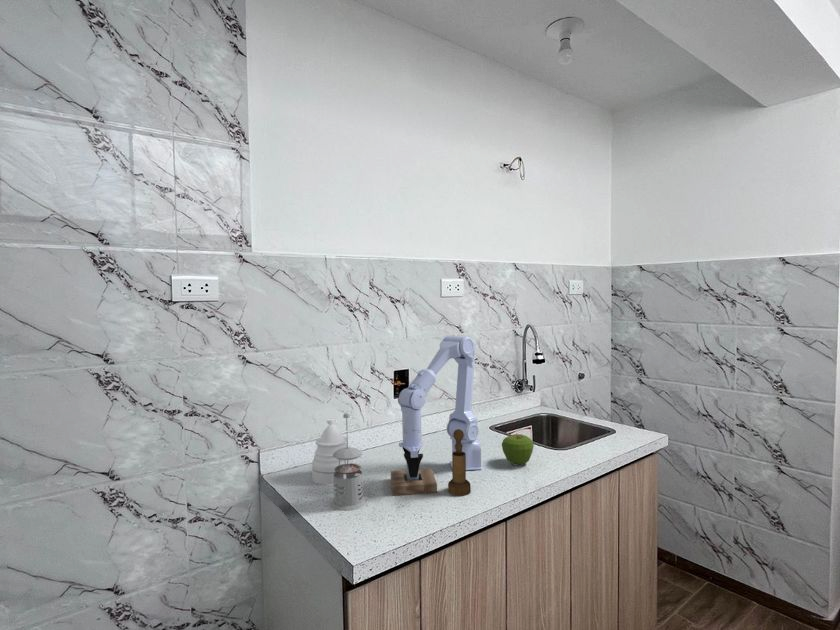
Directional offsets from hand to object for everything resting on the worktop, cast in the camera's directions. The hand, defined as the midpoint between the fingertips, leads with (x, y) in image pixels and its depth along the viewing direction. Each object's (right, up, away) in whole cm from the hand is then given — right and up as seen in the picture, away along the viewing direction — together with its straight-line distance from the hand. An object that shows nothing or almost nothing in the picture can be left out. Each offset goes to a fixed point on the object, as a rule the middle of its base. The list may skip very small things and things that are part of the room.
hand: (412, 473), depth 131 cm
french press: (-18, -4, -10) cm, 21 cm away
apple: (+36, -3, +17) cm, 39 cm away
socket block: (0, -4, 0) cm, 4 cm away
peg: (0, -4, 0) cm, 4 cm away
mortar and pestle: (+14, -4, -5) cm, 15 cm away
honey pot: (-26, -4, +9) cm, 28 cm away
